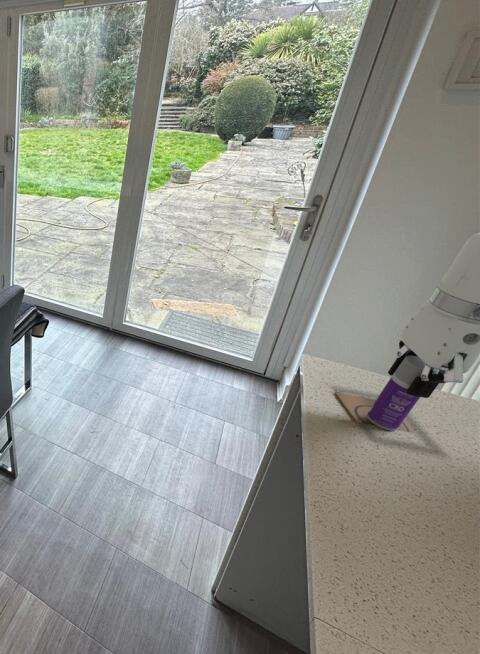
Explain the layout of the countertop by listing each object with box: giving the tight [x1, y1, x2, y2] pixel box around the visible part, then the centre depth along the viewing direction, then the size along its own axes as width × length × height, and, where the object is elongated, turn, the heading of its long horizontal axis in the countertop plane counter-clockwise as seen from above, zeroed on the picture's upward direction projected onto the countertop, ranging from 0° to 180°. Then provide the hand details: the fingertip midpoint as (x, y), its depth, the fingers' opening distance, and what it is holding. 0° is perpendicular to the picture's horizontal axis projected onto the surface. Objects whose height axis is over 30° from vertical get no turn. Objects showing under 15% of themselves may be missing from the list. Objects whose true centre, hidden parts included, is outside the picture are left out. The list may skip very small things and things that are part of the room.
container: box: [367, 356, 439, 432], centre depth 79 cm, size 5×5×15 cm
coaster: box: [334, 391, 417, 435], centre depth 84 cm, size 10×14×1 cm
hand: (407, 384), depth 78 cm, fingers closed on container, 4 cm apart
